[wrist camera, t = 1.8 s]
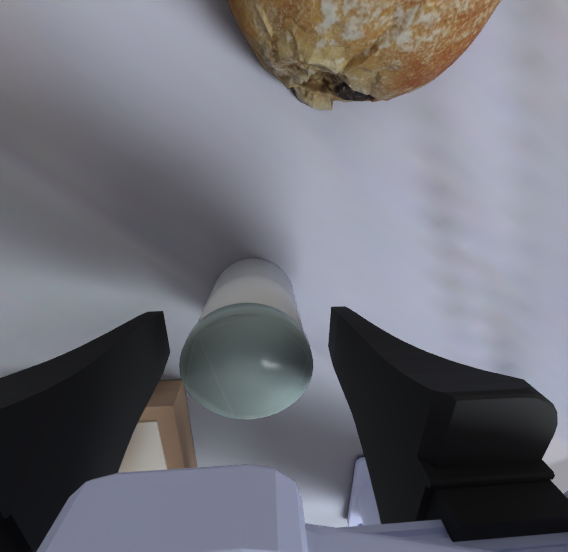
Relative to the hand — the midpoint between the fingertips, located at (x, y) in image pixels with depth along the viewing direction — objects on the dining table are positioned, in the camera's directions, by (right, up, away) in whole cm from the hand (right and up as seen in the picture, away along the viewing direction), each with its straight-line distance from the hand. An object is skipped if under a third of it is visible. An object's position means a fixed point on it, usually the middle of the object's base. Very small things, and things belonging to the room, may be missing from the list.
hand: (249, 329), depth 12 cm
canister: (0, +1, +3) cm, 4 cm away
